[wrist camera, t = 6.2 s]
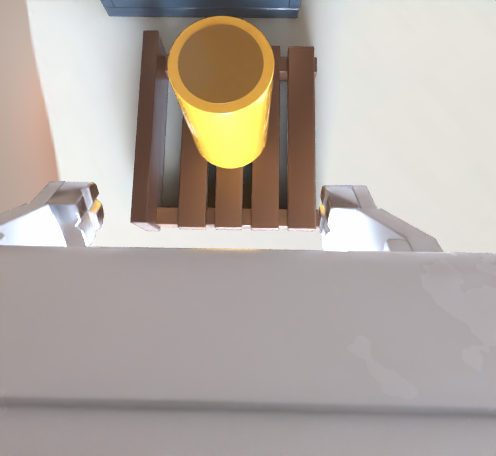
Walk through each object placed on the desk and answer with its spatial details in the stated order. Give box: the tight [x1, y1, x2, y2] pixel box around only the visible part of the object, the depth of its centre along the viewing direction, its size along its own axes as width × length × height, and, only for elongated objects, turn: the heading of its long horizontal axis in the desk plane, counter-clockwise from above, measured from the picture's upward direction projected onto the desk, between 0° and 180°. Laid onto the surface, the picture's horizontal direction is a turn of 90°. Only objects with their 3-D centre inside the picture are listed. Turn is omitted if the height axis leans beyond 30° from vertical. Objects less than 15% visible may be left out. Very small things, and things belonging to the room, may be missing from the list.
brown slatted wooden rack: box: [131, 31, 318, 231], centre depth 26 cm, size 12×13×4 cm
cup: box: [167, 16, 274, 168], centre depth 21 cm, size 5×5×8 cm
